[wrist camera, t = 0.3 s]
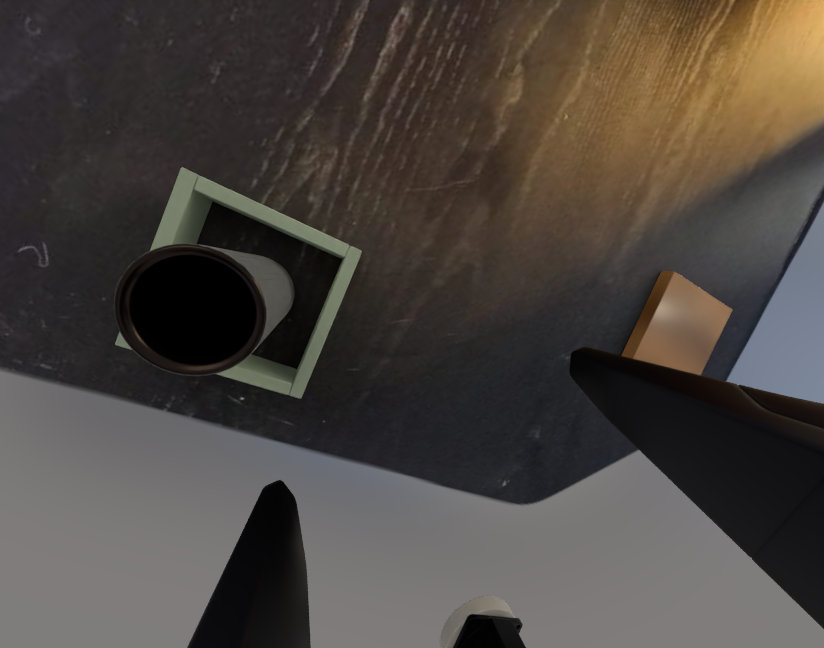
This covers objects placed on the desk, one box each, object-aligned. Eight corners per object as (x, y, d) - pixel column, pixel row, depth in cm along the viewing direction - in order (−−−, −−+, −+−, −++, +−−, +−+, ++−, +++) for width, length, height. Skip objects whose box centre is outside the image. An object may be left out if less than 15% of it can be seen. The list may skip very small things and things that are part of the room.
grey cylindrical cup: (304, 314, 21) (284, 354, 11) (234, 334, 20) (147, 395, 11) (282, 247, 20) (239, 228, 10) (207, 265, 19) (82, 262, 9)
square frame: (304, 382, 22) (300, 399, 19) (145, 333, 19) (113, 345, 16) (357, 253, 21) (362, 251, 19) (203, 182, 19) (181, 166, 16)
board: (678, 389, 32) (691, 393, 31) (618, 360, 29) (630, 364, 28) (718, 308, 31) (733, 309, 30) (660, 271, 29) (674, 271, 28)
